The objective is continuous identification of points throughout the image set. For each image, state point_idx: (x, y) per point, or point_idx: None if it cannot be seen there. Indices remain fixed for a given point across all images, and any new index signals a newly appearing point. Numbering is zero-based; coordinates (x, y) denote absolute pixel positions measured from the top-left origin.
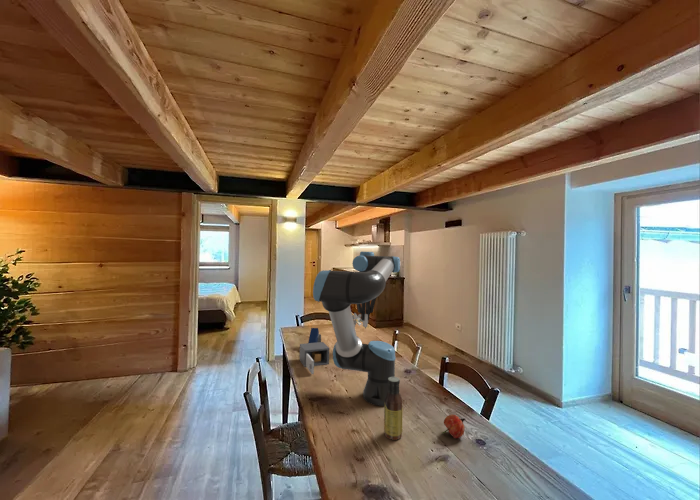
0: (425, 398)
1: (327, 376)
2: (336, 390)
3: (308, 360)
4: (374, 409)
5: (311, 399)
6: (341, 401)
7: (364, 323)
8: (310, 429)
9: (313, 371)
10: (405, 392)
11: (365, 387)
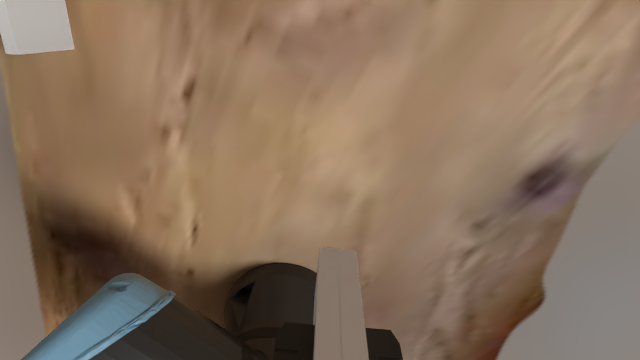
0: (409, 355)
1: (150, 82)
2: (157, 217)
3: None
4: None
5: (59, 239)
6: (155, 283)
7: (313, 321)
8: None
9: (64, 49)
10: (381, 312)
11: (226, 321)
